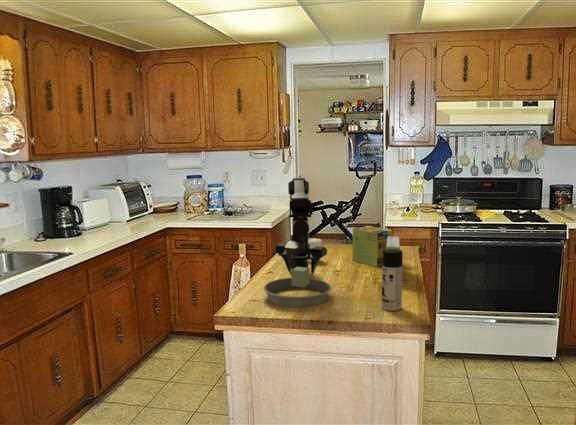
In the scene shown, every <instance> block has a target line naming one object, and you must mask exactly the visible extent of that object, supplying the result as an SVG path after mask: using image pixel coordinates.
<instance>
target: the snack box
mask: <svg viewBox="0 0 576 425" xmlns="http://www.w3.org/2000/svg"><path fill="white" fill-rule="evenodd" d="M400 244H401V243H400V237H399V236H392V237H387V247H386V249H398V250H401V245H400Z"/></svg>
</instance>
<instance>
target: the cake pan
mask: <svg viewBox="0 0 576 425" xmlns="http://www.w3.org/2000/svg"><path fill="white" fill-rule="evenodd" d="M294 289H295V290H311V291H317V292H319V294H313V295H306V296H305V295H304V296H289V295H280V294H279V292H281V291H286V290H287V291H288V290H294ZM331 289H332V285H331V284H330V283H329V282H326V281H323V280H321V279H317V278H312V277H310V284H309V285H307V286H305V287H297V286H292V278H291V277H285V278H279V279H274V280H272V281H269V282H267V283H266V284H265V285H264V286H263V290H264V292H265V293H266V295H267V298H268V299H267V300H268V301H269V302H270V303H272V304H274V305H275V306H281V307H287V308H306V307H312V306H316V305H320V304H321V303H324V302H325V301H326V299H327V296H328V293H329V292H330V291H331Z"/></svg>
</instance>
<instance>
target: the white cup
mask: <svg viewBox="0 0 576 425" xmlns="http://www.w3.org/2000/svg"><path fill="white" fill-rule="evenodd" d="M308 244H310V247H309V248H311V249H312V248H314V247H316V246H319V247H322V239H320V238H312V237H311V238H308ZM306 256H308V255H306ZM311 257H312V255H311ZM320 261H321V259H320V260H319V262H320ZM307 262H308V263H311V259H309V260H308V259H307Z"/></svg>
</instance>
